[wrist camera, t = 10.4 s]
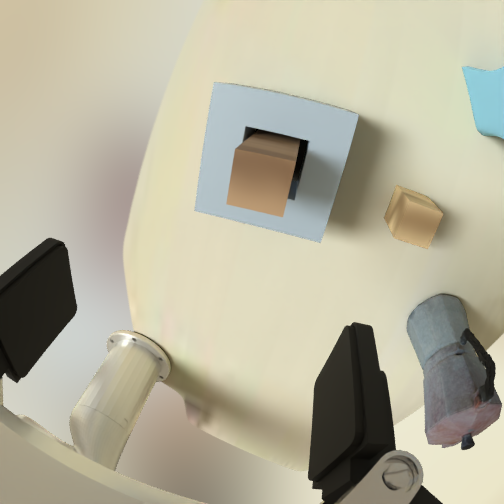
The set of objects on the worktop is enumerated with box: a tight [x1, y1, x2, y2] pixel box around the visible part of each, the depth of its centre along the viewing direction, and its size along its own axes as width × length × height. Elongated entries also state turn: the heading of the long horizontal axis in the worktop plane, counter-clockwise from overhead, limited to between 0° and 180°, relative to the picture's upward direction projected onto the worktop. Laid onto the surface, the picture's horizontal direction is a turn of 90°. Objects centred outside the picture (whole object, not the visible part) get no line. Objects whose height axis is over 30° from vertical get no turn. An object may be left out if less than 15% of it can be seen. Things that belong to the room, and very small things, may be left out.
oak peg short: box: [384, 185, 443, 249], centre depth 29 cm, size 4×4×5 cm
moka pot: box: [407, 294, 502, 450], centre depth 28 cm, size 10×15×20 cm, turn 14°
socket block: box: [195, 82, 359, 243], centre depth 28 cm, size 12×12×6 cm
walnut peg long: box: [226, 129, 300, 217], centre depth 26 cm, size 4×4×12 cm
